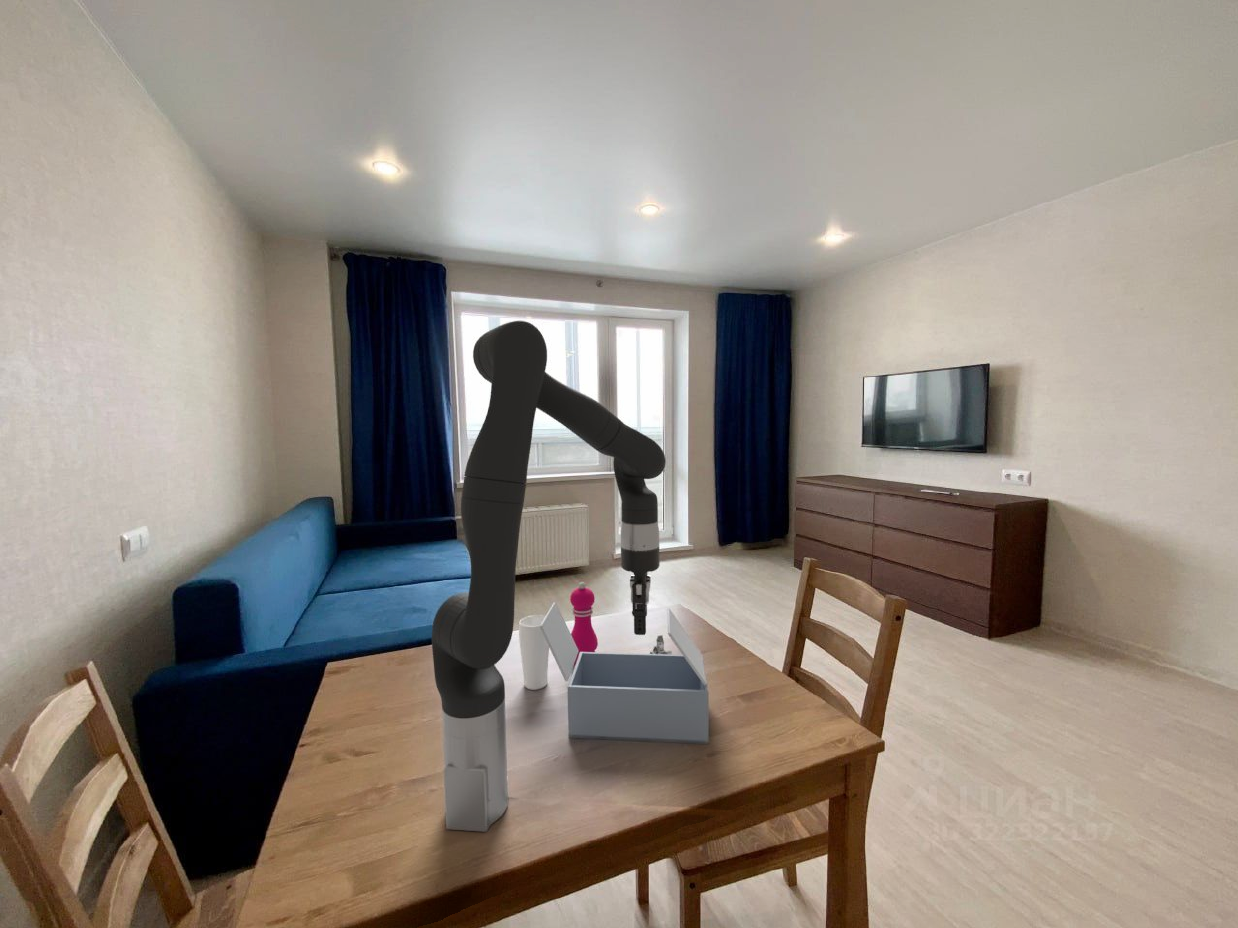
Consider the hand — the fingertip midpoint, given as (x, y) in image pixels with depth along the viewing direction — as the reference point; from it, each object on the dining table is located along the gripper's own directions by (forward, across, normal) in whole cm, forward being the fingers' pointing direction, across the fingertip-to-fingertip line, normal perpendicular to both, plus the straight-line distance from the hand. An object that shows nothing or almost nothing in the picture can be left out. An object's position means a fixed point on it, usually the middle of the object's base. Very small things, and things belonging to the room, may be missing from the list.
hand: (640, 624), depth 96 cm
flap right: (+9, 0, -12) cm, 15 cm away
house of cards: (+20, +22, -6) cm, 31 cm away
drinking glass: (+19, +11, +24) cm, 33 cm away
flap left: (+9, 0, +13) cm, 16 cm away
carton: (+19, 0, 0) cm, 19 cm away
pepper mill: (+20, +23, +15) cm, 34 cm away
